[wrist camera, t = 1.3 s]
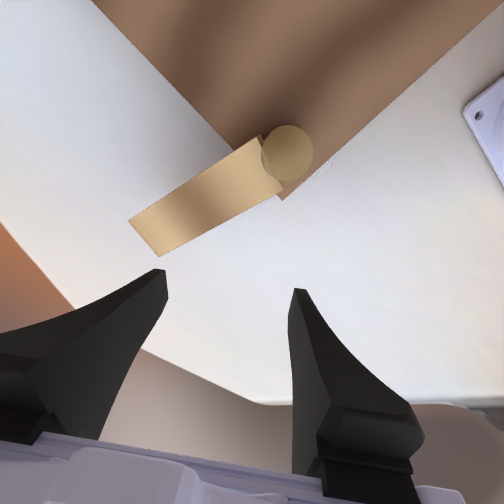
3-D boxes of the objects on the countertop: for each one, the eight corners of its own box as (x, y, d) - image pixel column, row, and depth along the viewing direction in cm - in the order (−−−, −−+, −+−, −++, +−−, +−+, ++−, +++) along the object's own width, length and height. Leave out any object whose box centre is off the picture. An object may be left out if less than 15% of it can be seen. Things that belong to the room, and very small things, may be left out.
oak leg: (294, 111, 14) (297, 109, 11) (315, 159, 15) (323, 168, 13) (150, 205, 18) (127, 220, 16) (176, 238, 20) (158, 257, 17)
